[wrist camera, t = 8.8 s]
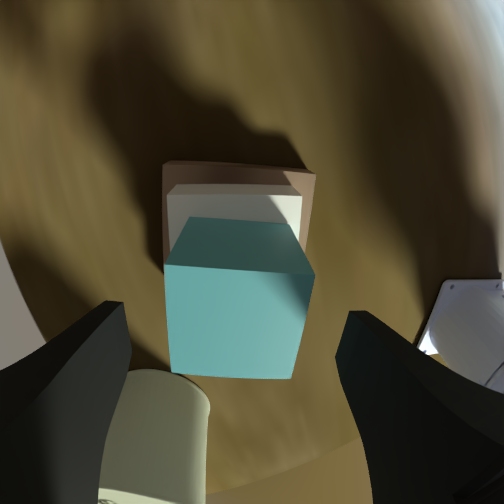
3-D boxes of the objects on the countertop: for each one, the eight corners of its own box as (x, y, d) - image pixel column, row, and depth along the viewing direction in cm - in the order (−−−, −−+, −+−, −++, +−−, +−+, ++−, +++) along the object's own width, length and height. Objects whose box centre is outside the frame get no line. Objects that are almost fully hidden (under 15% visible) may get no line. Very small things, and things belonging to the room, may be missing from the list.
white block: (292, 185, 15) (302, 196, 13) (283, 286, 18) (291, 309, 16) (176, 184, 15) (166, 194, 13) (182, 286, 17) (175, 309, 15)
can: (97, 370, 23) (56, 482, 12) (193, 363, 22) (179, 502, 12) (138, 427, 26) (120, 522, 15) (220, 424, 26) (221, 531, 15)
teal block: (289, 224, 14) (315, 274, 9) (276, 308, 15) (290, 378, 11) (189, 216, 13) (164, 264, 9) (188, 302, 15) (171, 372, 10)
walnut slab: (305, 168, 18) (316, 174, 15) (288, 284, 21) (295, 304, 18) (171, 159, 17) (162, 164, 15) (172, 279, 20) (165, 298, 18)
